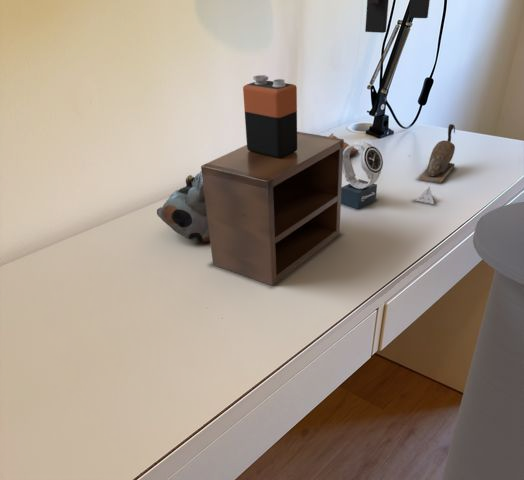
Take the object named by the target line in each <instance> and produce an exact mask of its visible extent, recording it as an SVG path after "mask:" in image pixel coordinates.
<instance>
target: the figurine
mask: <svg viewBox="0 0 524 480" xmlns="http://www.w3.org/2000/svg"><path fill="white" fill-rule="evenodd" d="M452 131H453V134H455V132H456V127H455V124H453V123H449V124H448V128H447V140H441V141H438V142H437V143H436V144H435V146H434V147H433V148H432V151H431V154H430V157H429V161H428V164H427V167H426V169H425V170H424V172H422V173H421V175H419V180H420V181H423V182H424V181H425V182H431V183H437V184H441V183H442V182H443V181H444V180H445V179H446V177H448V175H449V174H450V173H451V172H452V171H453V170H454V168H455V163H453V162H451V161H452V160H453V157H454V154H455V151H456V145H455V144H454V143H453V142H452Z"/></svg>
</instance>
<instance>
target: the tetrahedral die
mask: <svg viewBox="0 0 524 480" xmlns="http://www.w3.org/2000/svg"><path fill="white" fill-rule="evenodd" d="M416 202H420V203H426V204H431V205H435V201H434V197H433V194H432V190H431V187H430V186H428V187H427V188H426V189H425V190H423V192H422V193H421V195H420V196H419V197H418V198H417V199H416Z"/></svg>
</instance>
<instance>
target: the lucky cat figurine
mask: <svg viewBox="0 0 524 480" xmlns="http://www.w3.org/2000/svg"><path fill="white" fill-rule="evenodd" d="M185 184H186V186H183V187H181V188H179V189H177V190H175V191H173V192H172V193H171V194H170V196H169V197H168V198H167V199H166V201H165V202H164V204H163V205H162V207H158V208H157V209H156V215H157V217H159V218H160V219H161V221H163V222H164V223H165V224H166V225H167V226H168V227H169V228H171V229H172V230H173V231H174V232H175V233H177V234H178V235H180V236H182V237H184V238H185V239H187V240H193V239H196V240H197V241H198V242H199V243H207V242H210V235H209V227H208V219H207V211H206V203H205V195H204V187H203V179H202V171H200V172H199V173H197V174H196V175H195V176H194V175H192V174H189V175H188V176H187V177H186V178H185Z"/></svg>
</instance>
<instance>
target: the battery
mask: <svg viewBox="0 0 524 480" xmlns="http://www.w3.org/2000/svg"><path fill="white" fill-rule="evenodd" d="M252 80H253V82H250V83H247V84H245V85H243V86H242V92H243V93H242V94H243V95H242V96H243V109H244V123H245V124H244V125H245V139H246V145H247V149H248V150H249V151H252V152H256V153H260V154H264V155H268V156H272V157H276V158H281V157H284V156H286V155H288V154H290V153H293V152H295V151H296V150H297V132H298V90H297V88H298V87H297V85H296V84H293V83H286V82H285V79H283V78H277V79H273V80H269V76H268V75H266V74H258V75H254V76H252Z"/></svg>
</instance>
